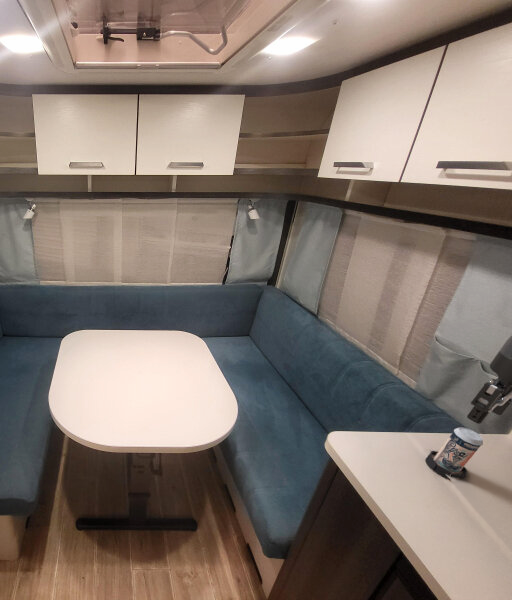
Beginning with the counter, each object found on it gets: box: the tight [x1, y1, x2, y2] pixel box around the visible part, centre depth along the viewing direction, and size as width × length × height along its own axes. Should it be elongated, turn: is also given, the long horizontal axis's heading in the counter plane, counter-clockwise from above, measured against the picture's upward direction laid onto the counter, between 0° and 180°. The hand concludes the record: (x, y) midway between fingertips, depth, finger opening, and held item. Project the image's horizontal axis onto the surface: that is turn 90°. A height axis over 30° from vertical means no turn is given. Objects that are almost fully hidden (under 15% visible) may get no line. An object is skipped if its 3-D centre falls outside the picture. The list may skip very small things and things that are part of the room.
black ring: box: [425, 450, 469, 481], centre depth 77 cm, size 7×7×2 cm
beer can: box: [433, 426, 484, 474], centre depth 74 cm, size 5×5×12 cm
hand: (484, 416), depth 70 cm, fingers open, 8 cm apart
